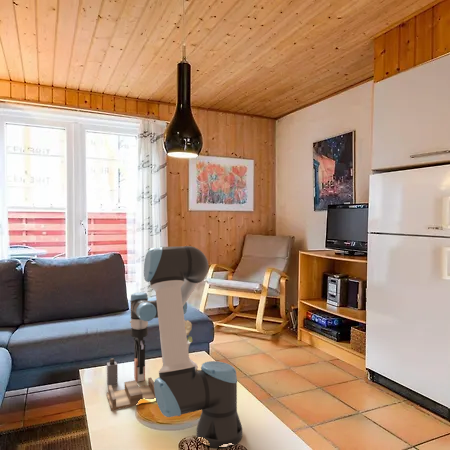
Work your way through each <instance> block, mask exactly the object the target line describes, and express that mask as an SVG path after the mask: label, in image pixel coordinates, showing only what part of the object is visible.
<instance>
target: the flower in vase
mask: <svg viewBox="0 0 450 450" xmlns="http://www.w3.org/2000/svg"><path fill="white" fill-rule="evenodd" d="M184 320H185V319H184ZM192 327H193V323H192V322H191V321H190V320H188V319H187V320H185V328H186V336H188V337H187V345H188V350H189V348H190V345H191V343H193V341H194V340H193V337H192V336H190V333H191V331H192ZM189 361H190V362H191V363H192V364H194V365H195V371H198V368H199V367H198V364H197V362H195V361H194V360H193V359H191V358H190V357H189Z"/></svg>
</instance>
